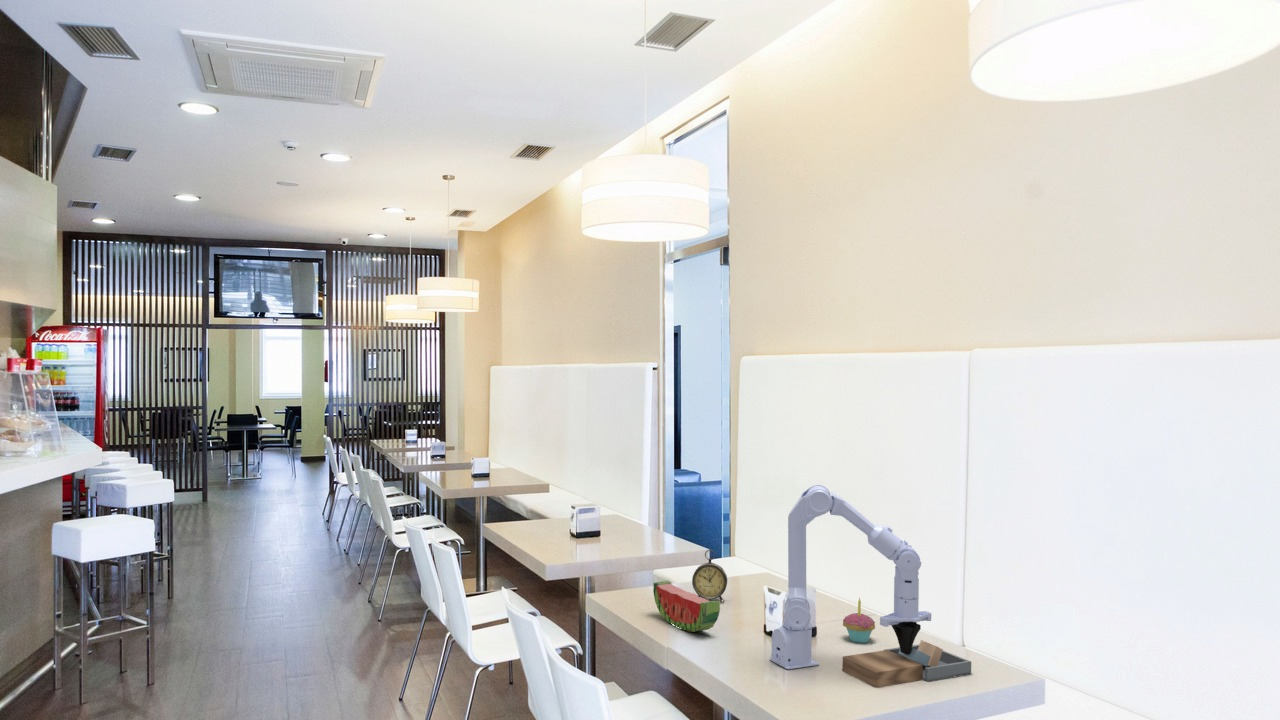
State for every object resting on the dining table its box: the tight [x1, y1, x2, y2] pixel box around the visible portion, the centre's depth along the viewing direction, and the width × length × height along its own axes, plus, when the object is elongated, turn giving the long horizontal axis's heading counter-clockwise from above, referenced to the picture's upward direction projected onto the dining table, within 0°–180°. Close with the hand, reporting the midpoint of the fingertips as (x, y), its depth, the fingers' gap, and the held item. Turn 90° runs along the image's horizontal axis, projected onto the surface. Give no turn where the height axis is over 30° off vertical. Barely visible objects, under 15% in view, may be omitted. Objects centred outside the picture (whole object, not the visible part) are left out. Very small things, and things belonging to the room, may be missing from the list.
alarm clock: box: [691, 549, 728, 601], centre depth 263 cm, size 11×5×16 cm, turn 81°
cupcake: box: [842, 597, 876, 644], centre depth 225 cm, size 9×8×12 cm
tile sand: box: [918, 639, 944, 667], centre depth 203 cm, size 5×5×3 cm
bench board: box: [841, 649, 923, 688], centre depth 198 cm, size 14×12×3 cm
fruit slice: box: [652, 580, 721, 633], centre depth 234 cm, size 26×6×10 cm, turn 31°
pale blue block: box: [898, 648, 931, 667], centre depth 202 cm, size 5×5×3 cm
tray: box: [884, 644, 972, 682], centre depth 203 cm, size 14×15×3 cm
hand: (905, 652), depth 201 cm, fingers closed
